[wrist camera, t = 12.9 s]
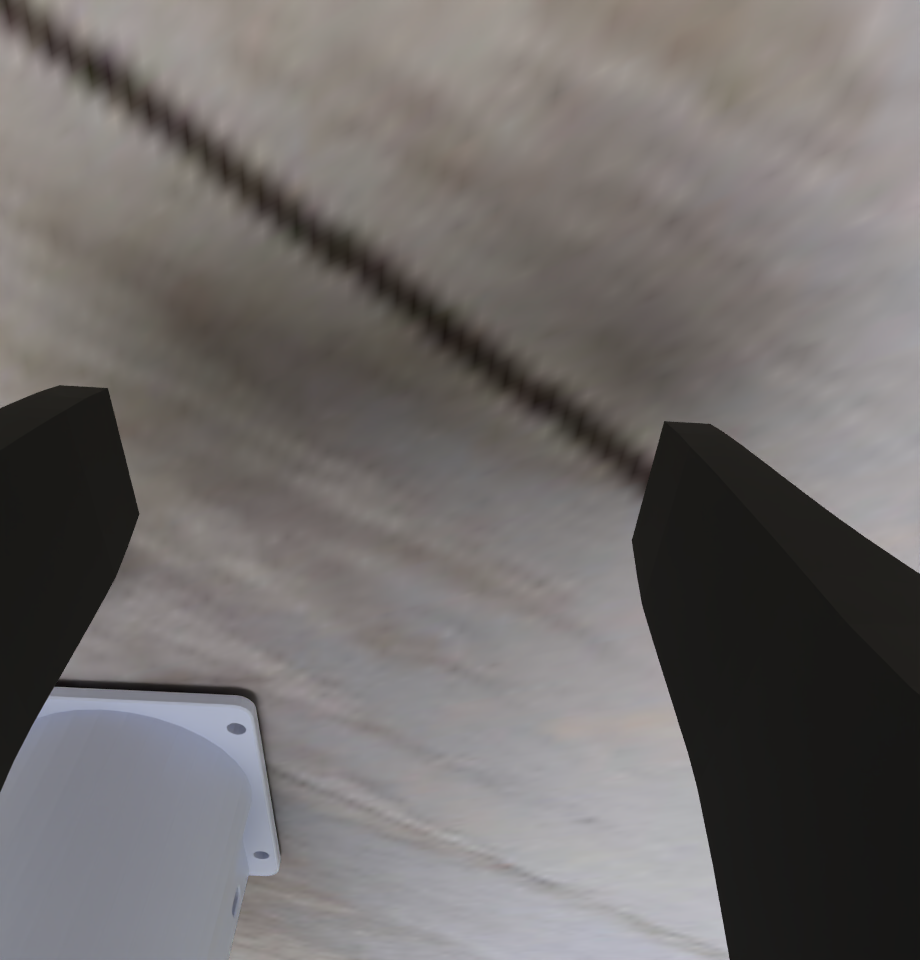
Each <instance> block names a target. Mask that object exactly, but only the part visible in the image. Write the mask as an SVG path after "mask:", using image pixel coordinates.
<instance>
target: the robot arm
mask: <svg viewBox="0 0 920 960" xmlns="http://www.w3.org/2000/svg"><path fill="white" fill-rule="evenodd" d="M138 516H139V511H138V507H137V503H136V499H135V495H134V491H133V487H132V483H131V479H130V475H129V471H128V467H127V463H126V459H125V455H124V451H123V447H122V443H121V439H120V435H119V431H118V427H117V423H116V419H115V415H114V411H113V407H112V403H111V399H110V395H109V391H108V388H95V387H78V386H61V385H59V386H56V387H53V388H50V389H47V390H44V391H41V392H38V393H36V394H33V395H31V396H28V397H26V398H23V399H21V400H18V401H16V402H14V403H11V404H9V405H7V406H5V407H2V408H0V960H229V956H230V952H231V947H232V943H233V939H234V935H235V930H236V926H237V922H238V918H239V914H240V909H241V905H242V901H243V897H244V892H245V888H246V884H247V880H248V876H249V875H251V876H271V875H274V874H276V873H277V872H278V871H279V867H280V862H281V857H280V851H279V845H278V839H277V833H276V827H275V821H274V815H273V809H272V803H271V797H270V790H269V784H268V778H267V772H266V766H265V760H264V754H263V748H262V742H261V736H260V730H259V724H258V717H257V711H256V707H255V705H254V703H253V702H252V701H251V700H249V699H248V698H246V697H243V696H238V695H222V694H201V693H180V692H159V691H137V690H116V689H95V688H74V687H54V686H55V685H56V683H57V681H58V679H59V678H60V676H61V674H62V672H63V671H64V669H65V667H66V665H67V664H68V662H69V660H70V658H71V657H72V655H73V653H74V651H75V650H76V648H77V646H78V644H79V643H80V641H81V639H82V637H83V635H84V634H85V632H86V630H87V628H88V627H89V625H90V623H91V621H92V619H93V618H94V616H95V614H96V612H97V610H98V609H99V607H100V605H101V603H102V601H103V600H104V598H105V596H106V594H107V592H108V591H109V589H110V587H111V585H112V583H113V581H114V579H115V577H116V575H117V572H118V570H119V567H120V565H121V562H122V560H123V557H124V555H125V552H126V550H127V547H128V544H129V542H130V539H131V536H132V533H133V530H134V528H135V525H136V522H137V519H138ZM632 544H633V551H634V558H635V565H636V572H637V578H638V584H639V589H640V595H641V601H642V606H643V609H644V612H645V616H646V619H647V623H648V626H649V629H650V633H651V636H652V639H653V642H654V646H655V649H656V652H657V655H658V659H659V662H660V665H661V668H662V671H663V675H664V678H665V681H666V684H667V687H668V691H669V694H670V697H671V700H672V703H673V706H674V710H675V713H676V716H677V719H678V722H679V726H680V729H681V732H682V735H683V738H684V742H685V745H686V748H687V751H688V755H689V758H690V762H691V766H692V770H693V773H694V777H695V781H696V785H697V789H698V793H699V798H700V803H701V808H702V813H703V818H704V823H705V828H706V833H707V838H708V843H709V848H710V853H711V858H712V863H713V868H714V873H715V879H716V885H717V890H718V896H719V901H720V907H721V913H722V918H723V924H724V929H725V935H726V941H727V946H728V952H729V958H730V960H920V574H919V573H918V572H916V571H915V570H913V569H911V568H910V567H908V566H907V565H905V564H904V563H903V562H901V561H900V560H898V559H897V558H895V557H894V556H892V555H891V554H889V553H888V552H886V551H885V550H883V549H882V548H880V547H879V546H877V545H876V544H874V543H873V542H871V541H870V540H868V539H867V538H865V537H864V536H863V535H861V534H860V533H858V532H857V531H856V530H854V529H853V528H851V527H850V526H848V525H847V524H846V523H844V522H843V521H841V520H840V519H839V518H837V517H836V516H835V515H833V514H832V513H830V512H829V511H828V510H826V509H825V508H824V507H822V506H821V505H820V504H818V503H817V502H816V501H814V500H813V499H812V498H810V497H809V496H808V495H806V494H805V493H804V492H802V491H801V490H800V489H798V488H797V487H796V486H794V485H793V484H792V483H791V482H789V481H788V480H787V479H785V478H784V477H783V476H781V475H780V474H779V473H777V472H776V471H775V470H774V469H772V468H771V467H770V466H768V465H767V464H766V463H764V462H763V461H762V460H761V459H759V458H758V457H757V456H755V455H754V454H753V453H751V452H750V451H749V450H747V449H746V448H745V447H743V446H742V445H741V444H739V443H738V442H737V441H735V440H734V439H732V438H731V437H730V436H728V435H727V434H725V433H724V432H722V431H721V430H719V429H718V428H716V427H714V426H713V425H711V424H700V423H684V422H667V421H664V424H663V428H662V432H661V435H660V439H659V443H658V446H657V450H656V454H655V458H654V461H653V465H652V469H651V472H650V476H649V480H648V483H647V487H646V491H645V494H644V498H643V502H642V505H641V509H640V513H639V516H638V520H637V524H636V527H635V531H634V535H633V538H632Z"/></svg>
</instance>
